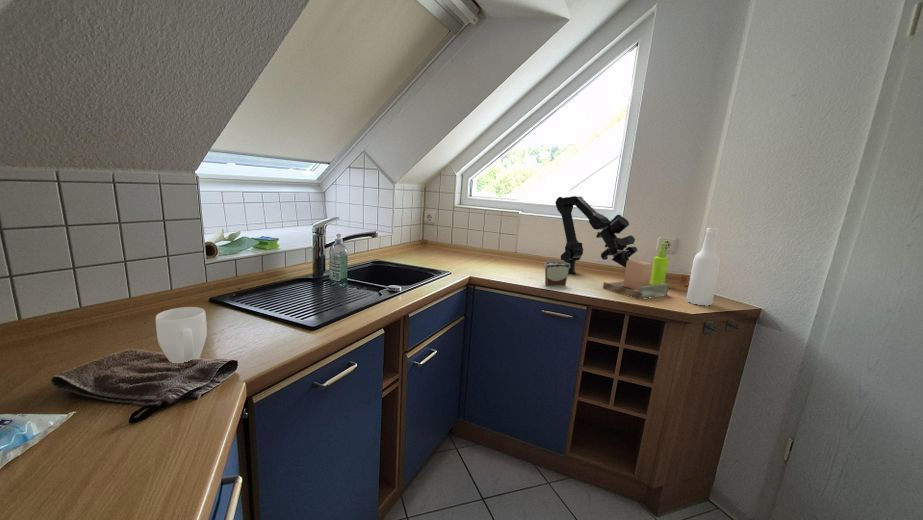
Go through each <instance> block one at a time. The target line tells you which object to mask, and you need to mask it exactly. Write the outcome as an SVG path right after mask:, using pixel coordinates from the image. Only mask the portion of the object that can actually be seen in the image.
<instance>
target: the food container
mask: <svg viewBox="0 0 923 520" xmlns="http://www.w3.org/2000/svg"><path fill="white" fill-rule="evenodd" d="M543 268H544V269H545V271H544V272H545V274H544V276H545V277H544V285H545V287H565V285H567V280H568V275H569V273H568V271H569V268H570V263H566V262H564V261H562V260H561V261H559V260H547V261H545V263H544V265H543Z"/></svg>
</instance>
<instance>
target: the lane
mask: <svg viewBox="0 0 923 520" xmlns="http://www.w3.org/2000/svg"><path fill="white" fill-rule="evenodd" d="M623 284H624V280H622V281H614V282H605V281H604V282H603V285H602V289H605V290H607V289H608V290H607V291H611V292H614V291H615V293H617V292H618V294H620V293H621V295H623V294H625V295H624V296H627V295H628V296H627V297H630V296H632V297H631V298H633V297H635V298H634V299H636V298H638V299H637V300H639V299H642V300H645V299H644V298H648V299H650V298H649V297H653V298H656V297H655V296H659V297H663V296H662V295H665V296H668V291H669V289H668V283H665V282H664V283H663V284H656V285H651V284H649V286H643V287H641V289H640V290H637V289H634V288H630V287H627V286H623Z"/></svg>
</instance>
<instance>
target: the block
mask: <svg viewBox="0 0 923 520" xmlns="http://www.w3.org/2000/svg"><path fill="white" fill-rule="evenodd" d="M652 268H653V263H650V262H647V261H641V260H637V259H631V260H630V259H629V261H627V263H626V268H625V272H624V278H623V281H624V284H623V286H627V287H630V288H634V289H637V290H640V289H641V287H643V286H649V284H650V280H651V274H652Z"/></svg>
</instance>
